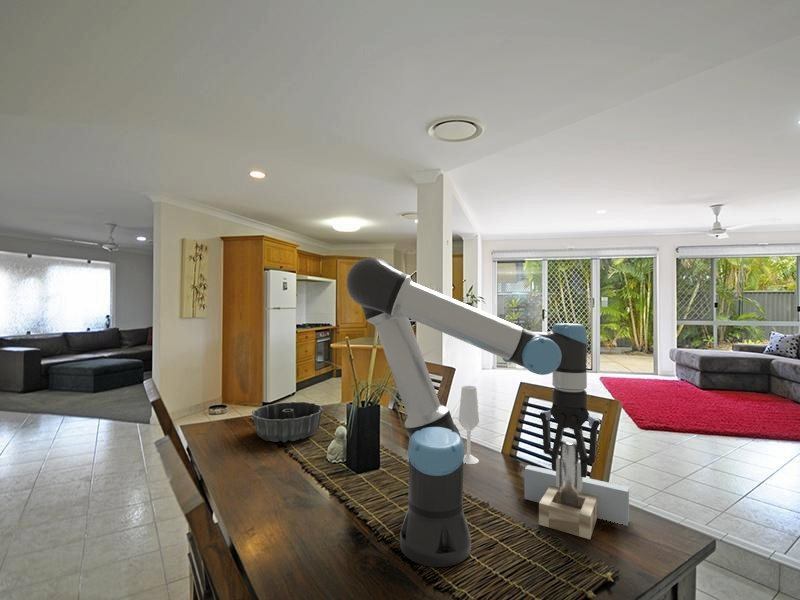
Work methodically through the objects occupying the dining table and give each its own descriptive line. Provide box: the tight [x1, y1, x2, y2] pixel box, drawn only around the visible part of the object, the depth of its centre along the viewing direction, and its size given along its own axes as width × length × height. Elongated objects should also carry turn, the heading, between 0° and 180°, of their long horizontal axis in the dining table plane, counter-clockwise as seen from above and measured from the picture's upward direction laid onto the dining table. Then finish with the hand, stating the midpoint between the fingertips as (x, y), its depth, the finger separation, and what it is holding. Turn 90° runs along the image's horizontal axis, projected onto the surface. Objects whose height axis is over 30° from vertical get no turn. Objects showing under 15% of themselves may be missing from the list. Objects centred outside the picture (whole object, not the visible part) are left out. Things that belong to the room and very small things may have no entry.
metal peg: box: [559, 439, 580, 506], centre depth 98 cm, size 4×4×14 cm
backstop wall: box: [524, 464, 630, 527], centre depth 104 cm, size 3×24×8 cm, turn 57°
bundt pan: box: [251, 401, 324, 444], centre depth 159 cm, size 26×26×10 cm
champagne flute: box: [458, 385, 480, 465], centre depth 135 cm, size 7×7×24 cm
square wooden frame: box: [538, 486, 598, 540], centre depth 98 cm, size 11×11×5 cm
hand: (569, 487), depth 98 cm, fingers closed on metal peg, 4 cm apart
